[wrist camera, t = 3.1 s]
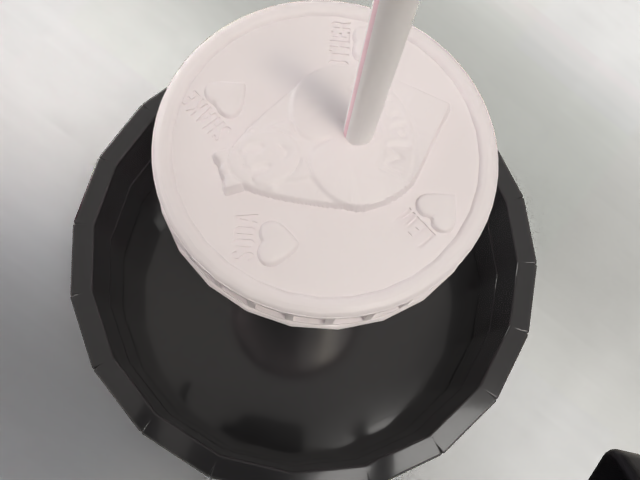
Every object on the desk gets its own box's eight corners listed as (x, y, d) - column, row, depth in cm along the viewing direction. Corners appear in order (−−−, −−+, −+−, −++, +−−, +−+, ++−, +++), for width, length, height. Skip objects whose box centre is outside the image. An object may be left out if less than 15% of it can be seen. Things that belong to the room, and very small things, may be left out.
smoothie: (425, 329, 19) (765, 141, 6) (241, 394, 18) (137, 347, 5) (359, 162, 21) (506, -289, 7) (187, 213, 20) (-5, -203, 6)
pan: (558, 378, 19) (619, 371, 16) (184, 553, 17) (160, 589, 14) (394, 60, 22) (415, -3, 19) (60, 172, 20) (15, 123, 17)
